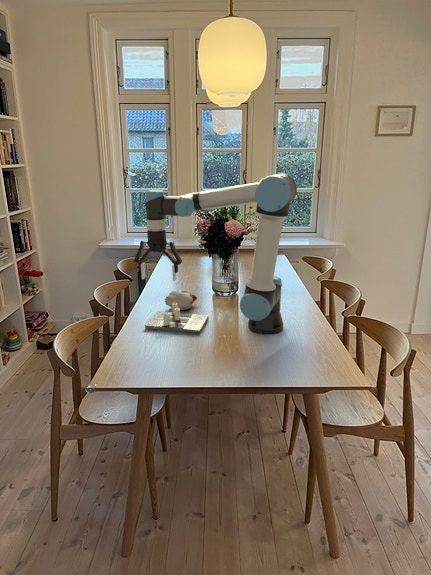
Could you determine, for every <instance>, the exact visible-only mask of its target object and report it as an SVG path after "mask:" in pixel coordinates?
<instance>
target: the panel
mask: <svg viewBox="0 0 431 575" xmlns="http://www.w3.org/2000/svg"><path fill="white" fill-rule="evenodd" d="M164 313H169V321H170V323H169V325H168V326H167V325H164V320H163V314H164ZM209 319H210V318H209V315H207V314H196V313H195V314H194V313H183V312H180V320H179V321H178V320H175V315H174V314H172V311H170V312H169V311H159V310H158V311H157V312H156V313H155V314H154V315H153V316H152V317H151V318H150V319H149V320H148V321H147V322H146V324H145V325H144V330H145V331H155V332H165V333H166V332H167V333H174V334H175V333H176V334H177V333H179V334H185V335H186V334H187V335H198V336H200V335H201V333H202V331H203V330H204V328H205V327H206V324H207V323H208V322H209Z"/></svg>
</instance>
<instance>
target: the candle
mask: <svg viewBox="0 0 431 575" xmlns="http://www.w3.org/2000/svg"><path fill="white" fill-rule="evenodd" d="M197 299H198V298H197V296H196V295H194V294H191V293H189V292H188V291H187V290H186V291H184V290H183V291H179V290H173V291H171V292H169V293H168V295H166V296H165V299H164V300H165V301H164V302H165V305H166V306H168V307H170V308H171V309H172V304H173V303H178V308H180V311H184V310H188V311H189V310H190V309H191V307H192V306H193V304H194V302H195V301H197Z"/></svg>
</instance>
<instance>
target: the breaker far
mask: <svg viewBox="0 0 431 575" xmlns="http://www.w3.org/2000/svg"><path fill="white" fill-rule="evenodd" d="M176 308H178V303H173V304H172V308H171V309H172V311H171V312H172V314H174V315H175V311H174V310H175V309H176Z"/></svg>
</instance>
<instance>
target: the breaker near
mask: <svg viewBox="0 0 431 575" xmlns="http://www.w3.org/2000/svg"><path fill="white" fill-rule="evenodd" d="M163 320H164V325H167V326H168V325H169V323H170V321H169V313H164V314H163Z"/></svg>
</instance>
